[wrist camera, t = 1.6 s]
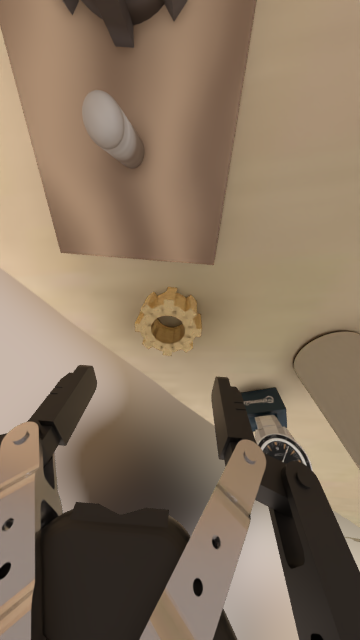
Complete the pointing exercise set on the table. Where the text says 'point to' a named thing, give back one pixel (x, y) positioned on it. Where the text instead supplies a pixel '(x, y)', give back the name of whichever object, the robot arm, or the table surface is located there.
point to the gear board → (131, 118)
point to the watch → (272, 426)
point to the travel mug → (335, 383)
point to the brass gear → (169, 336)
